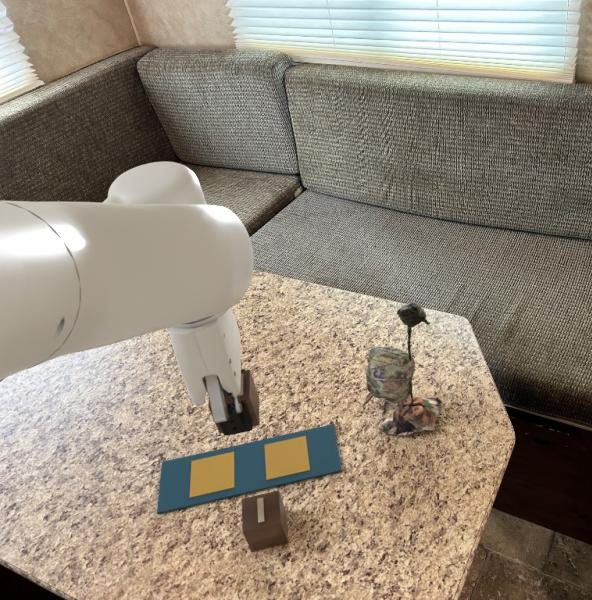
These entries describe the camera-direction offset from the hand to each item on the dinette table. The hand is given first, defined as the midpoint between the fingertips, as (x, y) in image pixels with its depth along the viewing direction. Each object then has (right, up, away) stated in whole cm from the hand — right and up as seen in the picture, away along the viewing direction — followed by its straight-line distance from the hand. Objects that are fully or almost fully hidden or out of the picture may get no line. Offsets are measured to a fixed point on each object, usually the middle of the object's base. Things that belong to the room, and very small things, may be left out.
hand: (238, 412), depth 70 cm
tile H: (0, 0, 0) cm, 0 cm away
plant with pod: (+19, -4, +18) cm, 26 cm away
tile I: (+2, -16, +5) cm, 17 cm away
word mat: (-2, -10, +13) cm, 16 cm away
